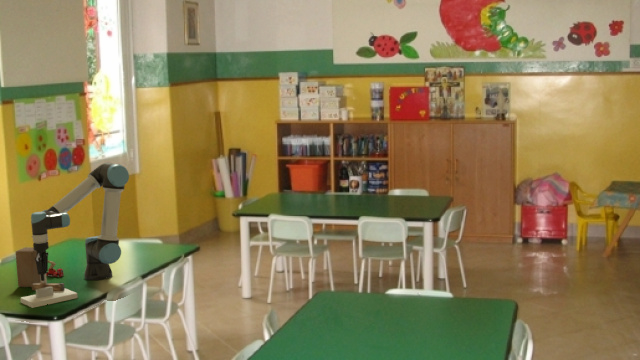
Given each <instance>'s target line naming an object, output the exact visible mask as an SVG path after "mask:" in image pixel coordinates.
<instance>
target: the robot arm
mask: <svg viewBox="0 0 640 360" xmlns="http://www.w3.org/2000/svg"><path fill="white" fill-rule="evenodd" d="M129 178H130V174H129V170H128V169H127V168H126V167H125V166H123V165H122V164H120V163H119V164H118V163H112V162H105V163H102V164H100V165H98V166H97V167H96V168H94V169H93V170H92V171H91V172H89V173H88V174H87V178H85V179H84V180H83V181H81V182H80V183H79V184H78V185H77V186H75V187H74V188H73V189H72V190H70V191H69V192H68V193H67V194H65V195H64V196H63V197H62V198H60V199H59V200H58V201H57V202H56V203H54V204H53V205H52V206H50V207H49V208H48V209H44V210H42V211H35V212H33V213H31V215H30V216H31V217H30V222H31V232H32V233H31V235H32V236H31V238H32V242H33V243H32V246H33V247H32V248H33V249H34V250H36V251H37V258H35V261H36V265H37V271H38V275H40V280H41V283H48V282H47V281H48V279H47V276H46V273H48V269H49V266H48V265H49V264H48V260H49V251H47V250H49V248H50V247H49V236H48V230H53V229H55V230H56V229H61V228H62V229H63V228H66V227H69V226H70V225H71V218H70V215H69V213H68V212H69V211H71V210H72V209H73V208H74V207H75V206H77V205H78V204H79V203H80V202H82V200H84V199H85V198H87V197H88V196H89V195H90V194H91V193H92V192H95V190H96V189H101V188H102V189H103V191H104V198H103V207H102V216H101V225H100V227H101V228H100V235H96V236H90V237H86V238H85V241H84V245H85V257H86V266H85V270H84V274H83V275H84V276H83V277H84V280H88V281H99V280H101V281H102V280H107V279H109V278H112V277H113V270H112V269H111V265H113V264H115V263H116V262H118V261H119V259H120V258H121V255H122V248H121V247H120V238H119V237H118V226H119V217H120V216H119V215H120V205H121V198H122V197H121V196H122V193H123V191H125V185H126V184H127V183H128V182H129ZM110 264H111V265H110Z"/></svg>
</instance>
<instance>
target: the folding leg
mask: <svg viewBox="0 0 640 360" xmlns="http://www.w3.org/2000/svg"><path fill="white" fill-rule="evenodd" d="M46 287H53V291H61V290H65V283H63V282H61V283H55V282H53V283H52V282H51V283H49V282H47V283H34V284H32V287H31V291H36V289H41V288H46Z"/></svg>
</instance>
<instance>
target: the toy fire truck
mask: <svg viewBox="0 0 640 360" xmlns="http://www.w3.org/2000/svg"><path fill="white" fill-rule="evenodd" d="M48 263H49V264H50V266H49V267H48V271H47V272H48V273H46V277H50V278H52V277H57V278H61V277H64V274H65V273H64V269H63V268H56V269H55V268H54V267H55V266H56V265H57V263H56V262H55V261H52V260H49V259H48Z"/></svg>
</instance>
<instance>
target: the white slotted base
mask: <svg viewBox="0 0 640 360" xmlns="http://www.w3.org/2000/svg"><path fill="white" fill-rule="evenodd" d="M78 298H79V296H78V292H75V291H73V290H70V289H68V288H65V290H61V291H53V287H46V288H41V289H36V290H35V294H31V295H28V296H27V295H26V296H22V297H20V303H21V304H23V305H25V306H28V307H30V308H32V309H34V308H38V307H43V306H46V305H47V304H48V305H52V304H56V303H60V302H64V301H70V300H74V299H78Z"/></svg>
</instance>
